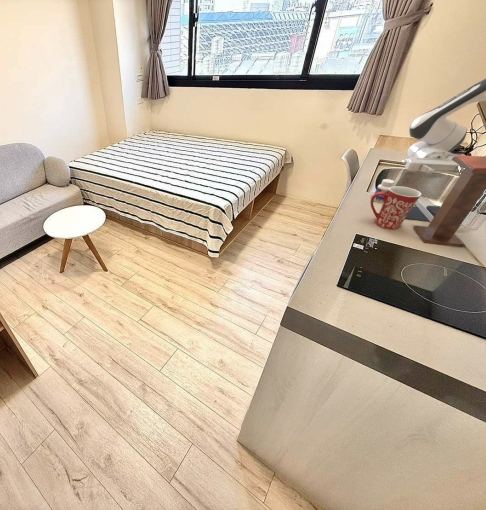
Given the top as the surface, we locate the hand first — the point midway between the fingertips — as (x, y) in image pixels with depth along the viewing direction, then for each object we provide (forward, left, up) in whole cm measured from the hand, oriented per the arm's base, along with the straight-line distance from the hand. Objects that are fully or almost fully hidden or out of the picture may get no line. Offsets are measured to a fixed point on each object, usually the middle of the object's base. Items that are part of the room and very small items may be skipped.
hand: (447, 172), depth 101 cm
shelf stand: (+4, +22, -16) cm, 27 cm away
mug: (+18, +16, -16) cm, 29 cm away
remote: (0, +3, -15) cm, 15 cm away
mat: (+4, +4, -16) cm, 17 cm away
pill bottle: (+14, -6, -16) cm, 22 cm away
